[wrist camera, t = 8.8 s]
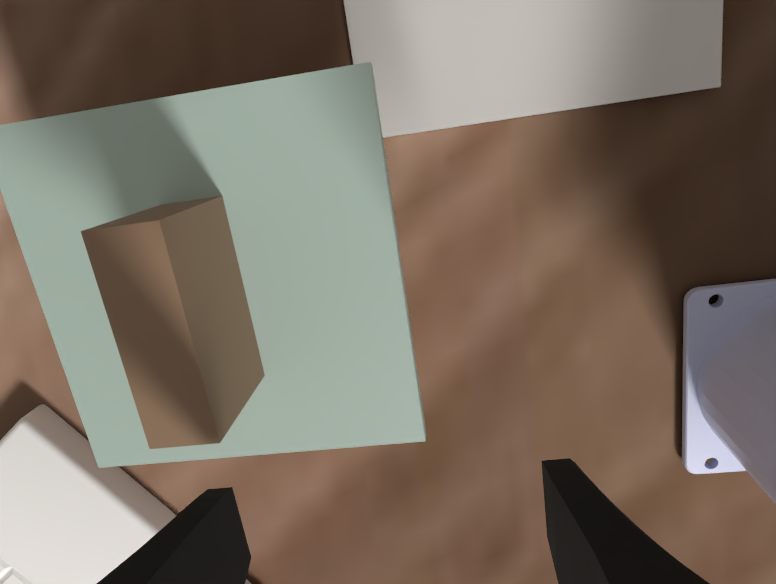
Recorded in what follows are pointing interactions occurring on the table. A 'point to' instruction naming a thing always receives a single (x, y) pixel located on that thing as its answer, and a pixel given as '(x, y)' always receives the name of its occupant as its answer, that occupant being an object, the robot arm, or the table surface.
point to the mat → (528, 55)
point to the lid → (221, 269)
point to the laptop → (67, 507)
